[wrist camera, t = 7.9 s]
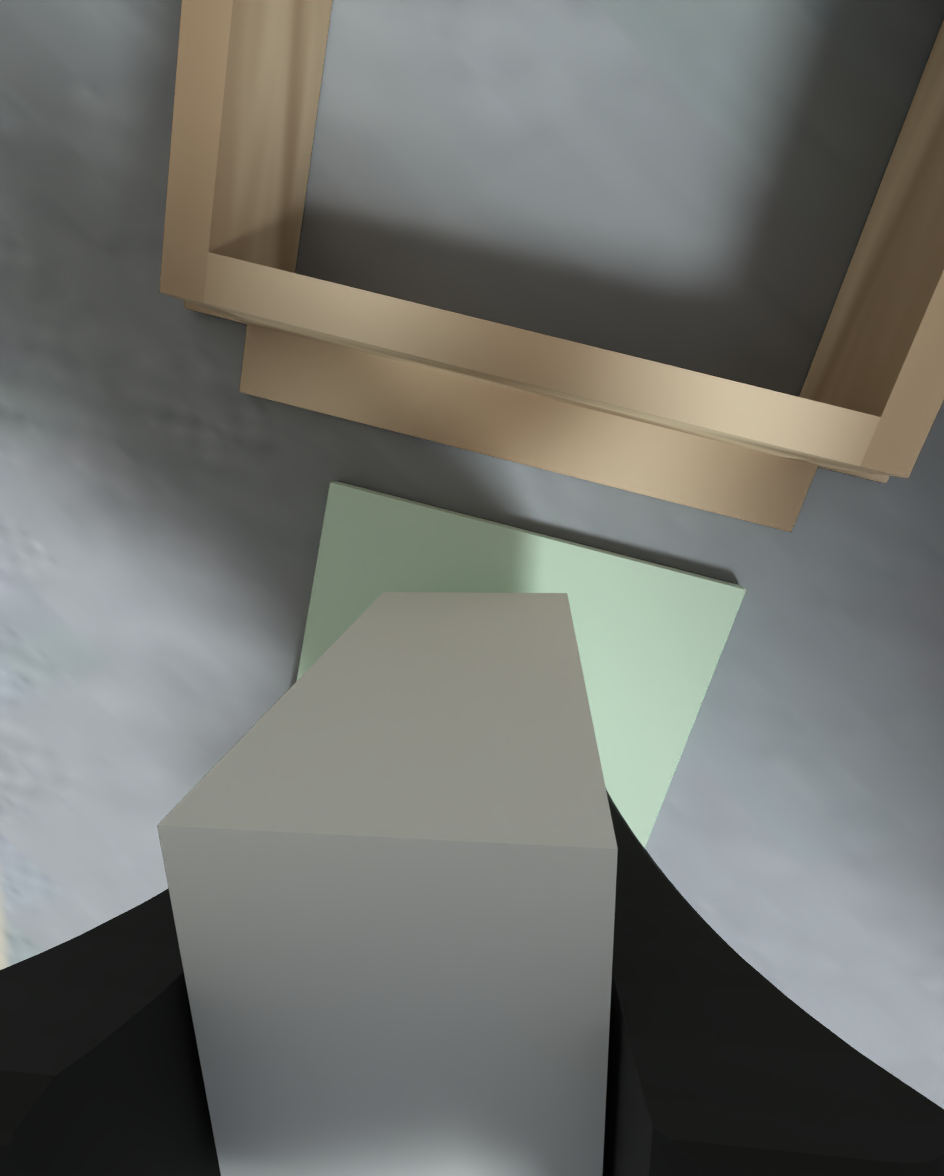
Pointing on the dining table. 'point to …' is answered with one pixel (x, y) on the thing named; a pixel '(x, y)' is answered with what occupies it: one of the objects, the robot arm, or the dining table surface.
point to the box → (407, 904)
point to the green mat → (544, 565)
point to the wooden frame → (524, 358)
